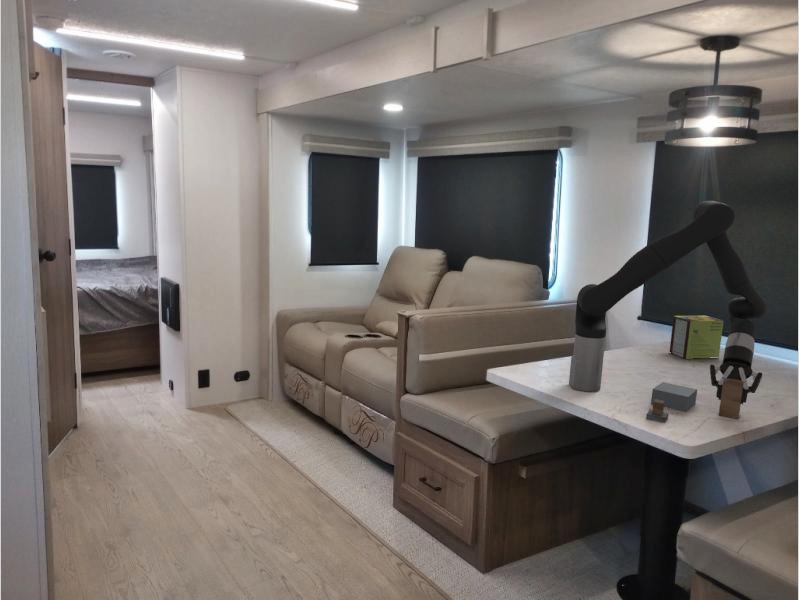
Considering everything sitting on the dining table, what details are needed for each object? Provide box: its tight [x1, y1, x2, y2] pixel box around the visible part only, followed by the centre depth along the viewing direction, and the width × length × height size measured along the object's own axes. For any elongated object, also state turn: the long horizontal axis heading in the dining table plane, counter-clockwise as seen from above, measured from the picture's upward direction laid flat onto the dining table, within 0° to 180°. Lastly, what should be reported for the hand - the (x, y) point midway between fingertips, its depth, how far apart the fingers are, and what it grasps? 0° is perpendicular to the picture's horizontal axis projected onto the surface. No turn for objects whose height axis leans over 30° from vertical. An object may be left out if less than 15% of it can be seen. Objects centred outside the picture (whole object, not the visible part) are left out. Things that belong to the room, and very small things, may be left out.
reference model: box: [645, 399, 669, 424], centre depth 172 cm, size 5×5×5 cm
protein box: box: [669, 315, 724, 360], centre depth 246 cm, size 10×15×16 cm
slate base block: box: [650, 381, 698, 413], centre depth 185 cm, size 10×10×5 cm
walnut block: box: [718, 378, 744, 419], centre depth 177 cm, size 5×5×10 cm
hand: (730, 400), depth 176 cm, fingers closed on walnut block, 5 cm apart
